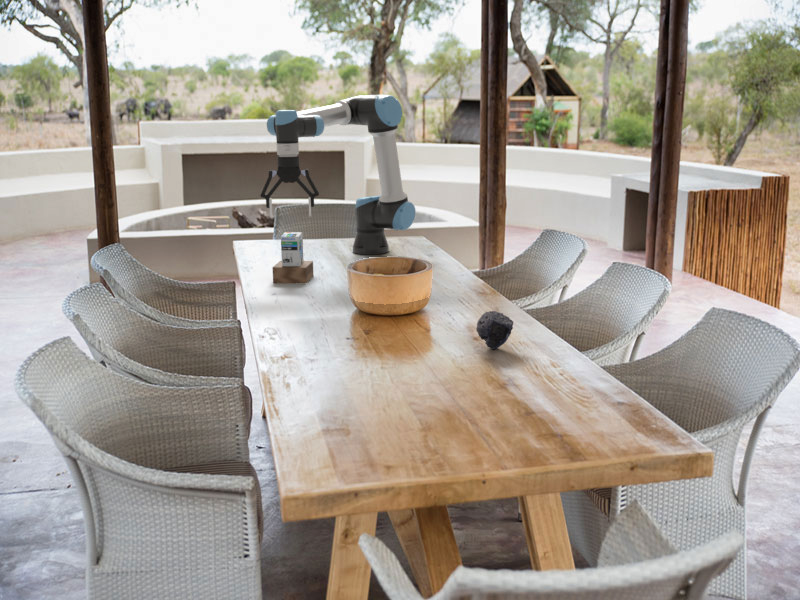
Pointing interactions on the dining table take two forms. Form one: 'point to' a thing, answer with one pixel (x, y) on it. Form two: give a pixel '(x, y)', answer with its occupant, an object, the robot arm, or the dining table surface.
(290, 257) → the light bulb box
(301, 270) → the walnut block
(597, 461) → the dining table surface
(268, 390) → the dining table surface
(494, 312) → the pumice stone
